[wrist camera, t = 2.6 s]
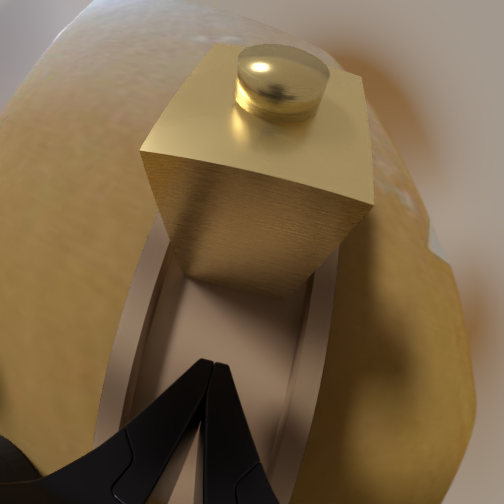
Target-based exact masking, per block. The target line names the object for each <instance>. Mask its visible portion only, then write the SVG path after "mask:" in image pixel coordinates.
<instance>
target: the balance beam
mask: <svg viewBox="0 0 504 504" xmlns="http://www.w3.org/2000/svg"><path fill="white" fill-rule="evenodd" d="M339 247H340V244H339V246H338V247H337V248H336V249H335V250H334V251H333V252H332V253H331V254H330V255H329V256H328V257H327V259H326V260H325V261H324V262H323V263H322V264H321V265H320V266H319V267H318V268H317V269H316V270H315V271H314V272H313V273H312V274H311V275H310V277H309V278H308V279H307V280H306V281H305V282H304V283H303V284H302V285H301V286H300V287H299V288H298V289H297V290H296V291H295V292H294V293H293V294H292V295H291V296H290V297H289V298H288V299H287V300H286V301H283V300H279V299H274V298H270V297H265V296H261V295H257V294H253V293H248V292H244V291H240V290H236V289H232V288H227V287H223V286H219V285H215V284H211V283H207V282H203V281H199V280H196V279H192V278H188V277H184V275H183V273H182V270H181V268H180V265H179V263H178V260H177V258H176V255H175V253H174V250H173V247H172V245H171V242H170V239H169V237H168V234H167V231H166V229H165V226H164V223H163V220H162V218H161V215H160V212H159V211H158V213H157V216H156V218H155V221H154V223H153V226H152V228H151V231H150V233H149V236H148V238H147V241H146V244H145V246H144V249H143V252H142V254H141V257H140V260H139V263H138V265H137V268H136V271H135V274H134V277H133V280H132V283H131V286H130V289H129V292H128V295H127V298H126V302H125V305H124V308H123V311H122V315H121V318H120V321H119V325H118V328H117V332H116V336H115V339H114V343H113V347H112V351H111V355H110V359H109V363H108V367H107V371H106V376H105V380H104V385H103V389H102V394H101V399H100V404H99V410H98V415H97V421H96V427H95V434H94V440H93V448H92V450H94V449H95V448H97V447H98V446H100V445H101V444H102V443H104V442H105V441H106V440H108V439H109V438H110V437H111V436H113V435H114V434H115V433H116V432H118V431H119V430H120V429H121V428H122V427H124V428H125V425H126V424H127V423H128V422H129V421H131V420H132V419H133V418H134V417H135V416H136V415H138V414H139V413H140V412H141V411H142V410H143V409H144V408H146V407H147V406H148V405H149V404H150V403H151V402H152V401H154V400H155V399H156V398H157V397H158V396H159V395H160V394H161V393H162V392H164V391H165V390H166V389H167V388H168V387H169V386H170V385H171V384H172V383H174V382H175V381H176V380H177V379H178V378H179V377H180V376H181V375H182V374H183V373H184V372H186V371H187V370H188V369H189V368H190V367H191V366H192V365H193V364H194V363H195V362H196V361H197V360H199V359H200V358H204V359H208V360H212V361H213V362H214V363H215V362H220V363H224V364H228V365H229V367H230V370H231V373H232V376H233V380H234V383H235V386H236V389H237V392H238V395H239V399H240V402H241V405H242V408H243V411H244V414H245V417H246V420H247V423H248V426H249V429H250V432H251V435H252V437H253V440H254V443H255V446H256V449H257V452H258V454H259V457H260V460H261V461H260V462H261V463H262V465H263V468H264V470H265V473H266V475H267V478H268V480H269V482H270V485H271V487H272V489H273V491H274V493H275V495H276V497H277V499H278V501H279V503H280V504H289V502H290V499H291V495H292V492H293V489H294V486H295V483H296V480H297V476H298V473H299V469H300V466H301V462H302V459H303V455H304V452H305V448H306V444H307V440H308V436H309V432H310V428H311V424H312V420H313V416H314V411H315V407H316V402H317V397H318V393H319V388H320V383H321V378H322V373H323V367H324V362H325V356H326V350H327V344H328V338H329V332H330V325H331V318H332V311H333V303H334V295H335V287H336V278H337V269H338V258H339ZM200 423H201V422H200ZM199 428H200V425H199ZM198 436H199V429H198V431H197V434H196V437H195V439H194V441H193V444H192V446H191V449H190V451H189V454H188V456H187V459H186V461H185V464H184V466H183V468H182V471H181V473H180V476H179V478H178V480H177V483H176V485H175V488H174V490H173V492H172V495H171V497H170V500H169V502H168V504H193V502H194V486H195V472H196V459H197V447H198Z"/></svg>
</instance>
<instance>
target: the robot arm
mask: <svg viewBox="0 0 504 504" xmlns="http://www.w3.org/2000/svg"><path fill="white" fill-rule="evenodd" d="M200 422H201V423H200ZM199 425H200V428H199ZM198 429H199V436H198V447H197V459H196V472H195V486H194V502H193V504H280V503H279V501H278V499H277V497H276V495H275V493H274V491H273V489H272V487H271V485H270V482H269V480H268V478H267V475H266V473H265V470H264V468H263V465H262V463H261V462H260V461H261V460H260V457H259V454H258V452H257V449H256V446H255V443H254V440H253V437H252V435H251V432H250V429H249V426H248V423H247V420H246V417H245V414H244V411H243V408H242V405H241V402H240V399H239V395H238V392H237V389H236V386H235V383H234V380H233V376H232V373H231V370H230V367H229V365H228V364H224V363H220V362H215V363H214V362H213V361H212V360H208V359H204V358H200V359H199V360H197V361H196V362H195V363H194V364H193V365H192V366H191V367H190V368H189V369H188V370H187V371H186V372H184V373H183V374H182V375H181V376H180V377H179V378H178V379H177V380H176V381H175V382H174V383H172V384H171V385H170V386H169V387H168V388H167V389H166V390H165V391H164V392H162V393H161V394H160V395H159V396H158V397H157V398H156V399H155V400H154V401H152V402H151V403H150V404H149V405H148V406H147V407H146V408H144V409H143V410H142V411H141V412H140V413H139V414H138V415H136V416H135V417H134V418H133V419H132V420H131V421H129V422H128V423H127V424H126V425H125V428H124V427H122V428H121V429H120V430H119V431H118V432H116V433H115V434H114V435H113V436H111V437H110V438H109V439H108V440H106V441H105V442H104V443H102V444H101V445H100V446H98V447H97V448H95V449H94V450H92V451H90V452H89V453H87V454H86V455H84V456H82V457H81V458H79V459H77V460H75V461H74V462H72V463H70V464H68V465H66V466H65V467H63V468H61V469H59V470H57V471H55V472H53V473H52V474H50V475H47V476H45V477H43V478H40V479H37V480H33V481H27V482H14V483H0V504H168V502H169V500H170V497H171V495H172V492H173V490H174V488H175V485H176V483H177V480H178V478H179V476H180V473H181V471H182V468H183V466H184V464H185V461H186V459H187V456H188V454H189V451H190V449H191V446H192V444H193V441H194V439H195V437H196V434H197V431H198Z"/></svg>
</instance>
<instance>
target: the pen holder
mask: <svg viewBox="0 0 504 504" xmlns="http://www.w3.org/2000/svg"><path fill="white" fill-rule="evenodd" d="M37 479H40V478H39V476H38V475H37V473H36V471H35V470H34V468H33V467H32V466H31V464H30V463H29V462H28V460H27V459H26V458H25V457H24V456H23V454H22V453H21V452H20V451H19V450H18V449H17V448H16V447H15V446H14V445H13V444H12V443H10V442H9V441H8V440H7V439H5V438H4V437H3V436H1V435H0V483H14V482H27V481H33V480H37Z"/></svg>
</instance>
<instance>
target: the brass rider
mask: <svg viewBox="0 0 504 504" xmlns="http://www.w3.org/2000/svg"><path fill="white" fill-rule="evenodd" d="M139 151H140V154H141V157H142V161H143V164H144V167H145V170H146V173H147V176H148V180H149V183H150V186H151V189H152V192H153V195H154V198H155V200H156V203H157V206H158V209H159V212H160V215H161V218H162V220H163V223H164V226H165V229H166V231H167V234H168V237H169V239H170V242H171V245H172V247H173V250H174V253H175V255H176V258H177V260H178V263H179V265H180V268H181V270H182V273H183V275H184V277H188V278H192V279H196V280H199V281H203V282H207V283H211V284H215V285H219V286H223V287H227V288H232V289H236V290H240V291H244V292H248V293H253V294H257V295H261V296H265V297H270V298H274V299H279V300H283V301H286V300H287V299H288V298H289V297H290V296H291V295H292V294H293V293H294V292H295V291H296V290H297V289H298V288H299V287H300V286H301V285H302V284H303V283H304V282H305V281H306V280H307V279H308V278H309V277H310V275H311V274H312V273H313V272H314V271H315V270H316V269H317V268H318V267H319V266H320V265H321V264H322V263H323V262H324V261H325V260H326V259H327V257H328V256H329V255H330V254H331V253H332V252H333V251H334V250H335V249H336V248H337V247H338V246H339V244H340V243H341V242H342V241H343V240H344V239H345V238H346V237H347V236H348V235H349V233H350V232H351V231H352V230H353V229H354V228H355V227H356V226H357V224H358V223H359V222H360V221H361V220H362V219H363V218H364V217H365V215H366V214H367V213H368V212H369V211H370V210H371V208H372V207H373V206H374V185H373V168H372V154H371V143H370V133H369V124H368V116H367V109H366V102H365V95H364V89H363V83H362V77H359V76H357V75H354V74H351V73H349V72H346V71H343V70H340V69H336V68H333V67H330V66H327V65H325V64H324V63H323V62H322V61H321V60H320V59H318V58H317V57H315V56H314V55H312V54H310V53H308V52H306V51H303V50H301V49H297V48H294V47H290V46H285V45H278V44H261V45H255V46H251V47H241V46H234V45H226V44H217V43H216V44H215V45H214V46H213V47H212V48H211V49H210V51H209V52H208V53H207V54H206V55H205V57H204V58H203V59H202V60H201V62H200V63H199V64H198V65H197V67H196V68H195V69H194V70H193V72H192V73H191V74H190V76H189V77H188V78H187V80H186V81H185V82H184V84H183V85H182V86H181V88H180V89H179V90H178V92H177V93H176V95H175V96H174V97H173V99H172V100H171V102H170V103H169V105H168V106H167V107H166V109H165V110H164V112H163V113H162V115H161V116H160V118H159V119H158V121H157V123H156V124H155V126H154V127H153V129H152V130H151V132H150V134H149V135H148V137H147V138H146V140H145V142H144V143H143V145H142V147H141V148H140V150H139Z"/></svg>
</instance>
